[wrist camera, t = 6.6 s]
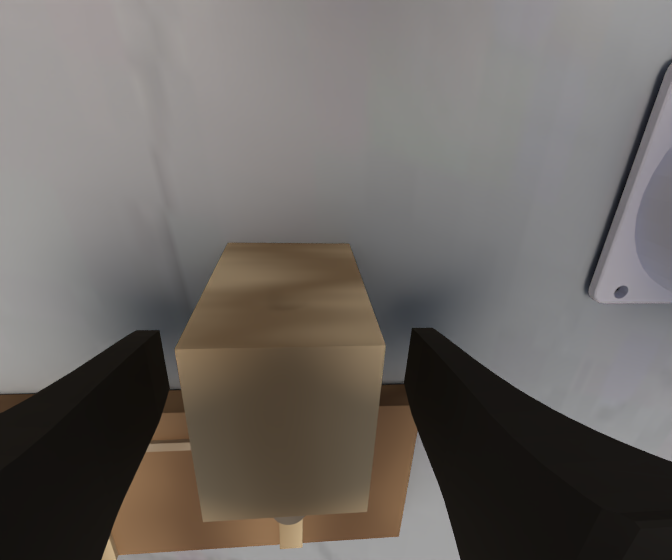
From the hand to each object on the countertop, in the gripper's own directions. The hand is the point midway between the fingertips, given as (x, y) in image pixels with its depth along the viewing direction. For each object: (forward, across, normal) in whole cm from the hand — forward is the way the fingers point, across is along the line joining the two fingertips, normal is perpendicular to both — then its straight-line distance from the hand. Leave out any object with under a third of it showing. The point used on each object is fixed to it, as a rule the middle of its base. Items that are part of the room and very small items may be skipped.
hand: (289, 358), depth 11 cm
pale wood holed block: (+3, 0, +1) cm, 3 cm away
